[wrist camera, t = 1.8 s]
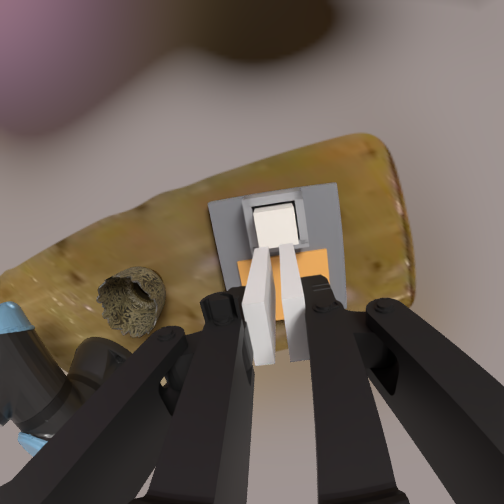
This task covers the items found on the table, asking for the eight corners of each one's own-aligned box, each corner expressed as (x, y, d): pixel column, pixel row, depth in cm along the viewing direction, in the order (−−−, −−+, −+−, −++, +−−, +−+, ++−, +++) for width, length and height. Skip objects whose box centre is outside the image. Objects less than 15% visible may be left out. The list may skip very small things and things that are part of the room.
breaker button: (261, 240, 29) (259, 249, 26) (255, 207, 28) (253, 213, 25) (296, 235, 29) (298, 244, 26) (291, 202, 28) (293, 207, 25)
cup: (183, 305, 36) (163, 340, 28) (135, 306, 37) (108, 337, 29) (172, 251, 34) (145, 275, 26) (122, 255, 34) (89, 278, 27)
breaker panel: (235, 318, 36) (230, 336, 32) (210, 201, 31) (200, 207, 27) (344, 303, 34) (352, 320, 30) (334, 182, 30) (343, 185, 26)
